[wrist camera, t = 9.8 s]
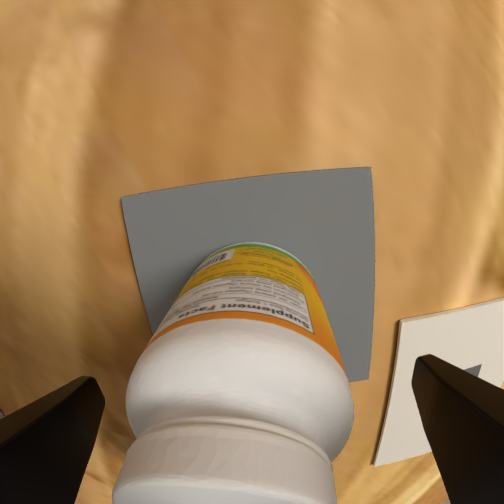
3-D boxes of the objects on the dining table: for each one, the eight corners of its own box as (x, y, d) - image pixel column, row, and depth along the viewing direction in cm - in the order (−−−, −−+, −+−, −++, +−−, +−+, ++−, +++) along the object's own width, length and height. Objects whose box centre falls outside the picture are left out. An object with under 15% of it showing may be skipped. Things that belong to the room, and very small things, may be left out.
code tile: (478, 431, 16) (479, 433, 16) (373, 463, 17) (374, 467, 16) (526, 290, 13) (529, 293, 12) (399, 319, 13) (402, 322, 13)
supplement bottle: (299, 363, 14) (317, 568, 4) (183, 341, 14) (101, 533, 4) (332, 253, 12) (447, 459, 3) (197, 226, 12) (36, 395, 3)
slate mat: (366, 374, 14) (368, 379, 14) (173, 388, 15) (171, 393, 15) (367, 166, 11) (371, 166, 11) (125, 196, 12) (120, 197, 12)
